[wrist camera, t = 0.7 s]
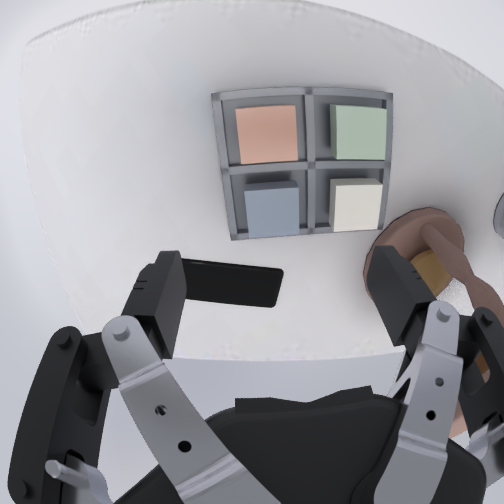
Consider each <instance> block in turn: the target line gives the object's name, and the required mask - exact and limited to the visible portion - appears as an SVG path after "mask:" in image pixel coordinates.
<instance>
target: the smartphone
mask: <svg viewBox="0 0 504 504" xmlns="http://www.w3.org/2000/svg"><path fill="white" fill-rule="evenodd" d="M181 259H182V264H183V269H184V274H185V279H186V286H187V291H186V298H185V299H190V300H198V301H207V302H216V303H225V304H235V305H245V306H256V307H268V308H272V307H274V306H275V305H276V301H277V297H278V294H279V290H280V286H281V282H282V278H283V274H284V273H283V270H282V269H277V268H268V267H258V266H248V265H239V264H229V263H220V262H211V261H202V260H193V259H184V258H181Z"/></svg>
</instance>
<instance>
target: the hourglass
mask: <svg viewBox="0 0 504 504" xmlns="http://www.w3.org/2000/svg"><path fill="white" fill-rule="evenodd" d="M377 245H392V246H394V247H395V249H396V250H397V251H398V253H399V254H400V255H401V256H403V257H404V258H406V259H407V260H408V261H410V262H411V263H412V264H413V266H414V267H415V268H416V270H417V273H419V274H420V276H421V277H422V279H423V280H424V281H425V283H426V284H427V286H428V287H429V289H430V290H431V292H432V293H433V295H434V296H435V297H437V296H438V295H439V294H440V293H441V292H442V291H443V290H444V289H445V288H446V287H447V286H448V285H449V283H450V282H451V280H452V279H453V277H454V278H455V279H457V280H458V281H460V282H461V283H463V284H464V285H465V286H466V289H467V292H468V295H469V297H470V300H471V303H472V306H473V308H474V310H475V309H476V308H478V307H486V308H488V309H490V310H491V311H492V312H493V313H494V314H495V315H496V316H497V318H498V319H499V321H500V323H501V324H502V326H503V328H504V305H503V303H502V301H501V299H500V297H499V295H498V294H497V293H496V291H495V290H494V289H493V288H492V287H491V286H490V285H489V284H487V283H486V282H484V281H483V280H481V279H480V278H478V277H476V276H475V275H474V273H473V271H472V269H471V266H470V264H469V262H468V260H467V258H466V256H465V255H464V253H463V252H464V237H463V234H462V231H461V228H460V226H459V225H458V224H457V223H456V222H455V221H454V220H453V219H452V218H451V217H450V216H449V215H448V214H447V213H446V212H444V211H441V210H437V209H433V208H425V209H420V210H415V211H411V212H409V213H407V214H406V215H404V216H402V217H401V218H399V219H397V220H395V221H394V222H392V224H391V225H390V226H389V227H388V228H387V229H386V230H385V231H384V232H383V233H382V234H381V235H380V236H379V237H378V238H377V240H376V241H375V243H374V245H373V247H372V249H371V251H370V252H369V254H368V256H367V259H366V264H365V269H364V274H363V276H364V281H365V286H366V291H367V293H368V295H369V297H370V298H371V299H372V297H371V295H370V292H369V290H368V288H367V283H366V277H367V272H368V268H369V265H370V261H371V257H372V253H373V249H374V247H375V246H377ZM372 300H373V299H372ZM458 314H459V313H458ZM459 315H460V314H459ZM475 361H476V363H477V365H478V367H479V369H480V372H481V374H482V376H483V379H484V381H485V383H486V382H487V381H488V379H489V376H490V370H489V367H488V365H487V363H486V361H485V359H484V356H483V354H482V352H481V354H480V355H479V356H478V357H477V359H476V360H475ZM466 430H468V429H467V426H466V423H465V419H464V416H463V413H462V410H461V406H460V403H459V400H457V405H456V409H455V414H454V418H453V423H452V427H451V430H450V434H449V438H452V437H454V436H457V435H459V434H461V433H463V432H464V431H466Z"/></svg>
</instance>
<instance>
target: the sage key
mask: <svg viewBox="0 0 504 504" xmlns="http://www.w3.org/2000/svg"><path fill="white" fill-rule="evenodd" d="M386 123H387V109H383V108H378V107H369V106H355V105H334V104H330V129H331V155H332V156H333V157H335V158H336V159H372V160H385V149H386Z"/></svg>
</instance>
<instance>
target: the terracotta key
mask: <svg viewBox="0 0 504 504" xmlns="http://www.w3.org/2000/svg"><path fill="white" fill-rule="evenodd" d="M235 111H236V120H237V129H238V139H239V148H240V157H241V164H252V163H264V162H278V161H296V160H298V149H297V128H296V110H295V105H292V104H289V105H268V106H254V107H242V108H236V109H235Z"/></svg>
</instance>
